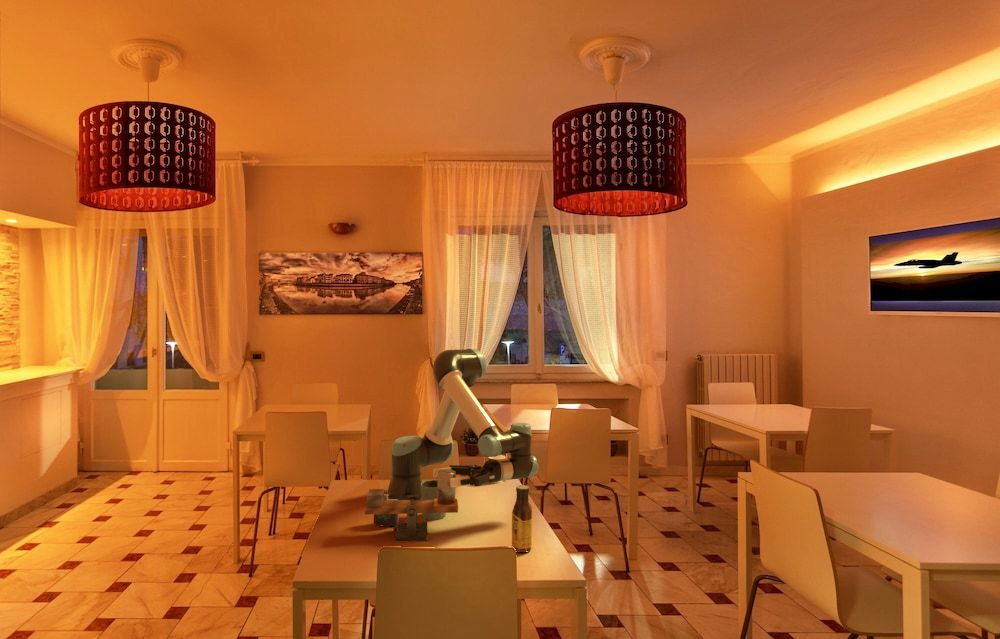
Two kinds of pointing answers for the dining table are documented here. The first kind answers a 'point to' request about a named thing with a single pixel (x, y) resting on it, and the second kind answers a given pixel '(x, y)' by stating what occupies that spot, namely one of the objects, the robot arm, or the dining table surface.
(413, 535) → the beam stand
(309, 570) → the dining table surface
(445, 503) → the glass jar
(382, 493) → the beam
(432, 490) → the grey cylindrical container
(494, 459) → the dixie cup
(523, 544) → the sauce bottle
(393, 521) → the flask
